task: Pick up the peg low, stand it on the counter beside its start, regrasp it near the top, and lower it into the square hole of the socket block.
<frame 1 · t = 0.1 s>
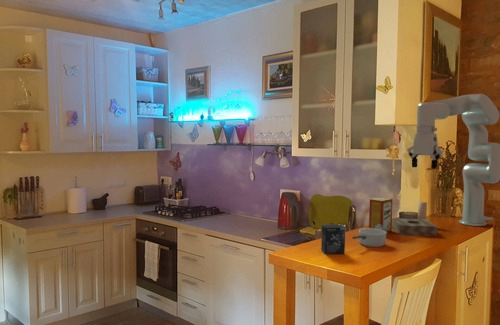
hand: (424, 167, 190), 31 cm above the breakfast bar, tool pointing down, fingers open, 9 cm apart
socket block: (413, 231, 199), on the breakfast bar
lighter: (382, 237, 189), on the breakfast bar
saucepan: (366, 246, 173), on the breakfast bar
peg: (421, 225, 213), on the breakfast bar
box: (332, 252, 164), on the breakfast bar
baking soda box: (380, 232, 199), on the breakfast bar
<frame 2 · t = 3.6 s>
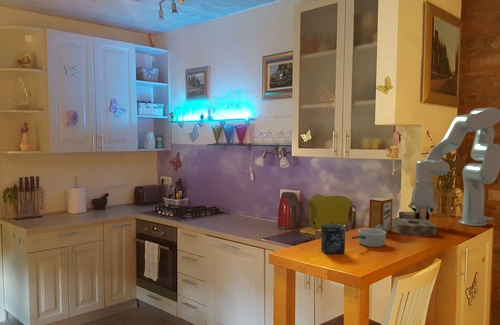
hand: (421, 220, 212), 3 cm above the breakfast bar, tool pointing down, fingers closed on peg, 4 cm apart
peg: (421, 225, 213), on the breakfast bar, touching gripper
everything else where it was.
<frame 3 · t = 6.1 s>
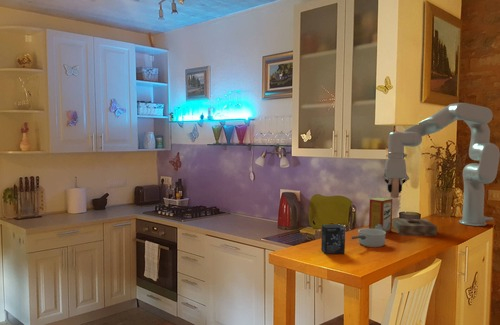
hand: (394, 191, 213), 17 cm above the breakfast bar, tool pointing down, fingers closed on peg, 4 cm apart
peg: (394, 197, 213), point 14 cm above the breakfast bar, touching gripper
everything else where it was.
when the fingers open (3 cm above the breakfast bar, at t = 8.8 s): peg stays where it is, on the breakfast bar.
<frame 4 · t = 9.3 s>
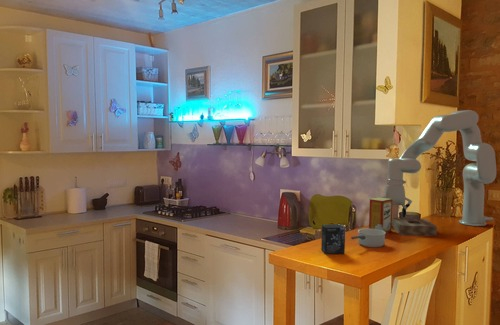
hand: (393, 216, 214), 4 cm above the breakfast bar, tool pointing down, fingers open, 9 cm apart
peg: (393, 224, 214), on the breakfast bar
everything else where it was.
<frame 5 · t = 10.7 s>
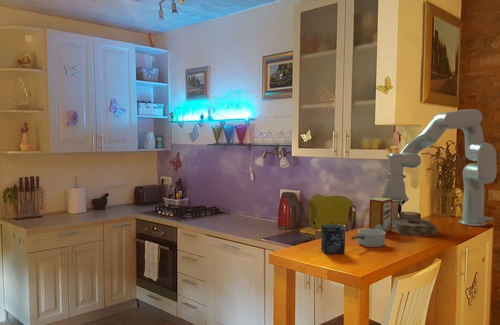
hand: (394, 212, 213), 6 cm above the breakfast bar, tool pointing down, fingers closed on peg, 4 cm apart
peg: (393, 224, 214), on the breakfast bar, touching gripper
everything else where it was.
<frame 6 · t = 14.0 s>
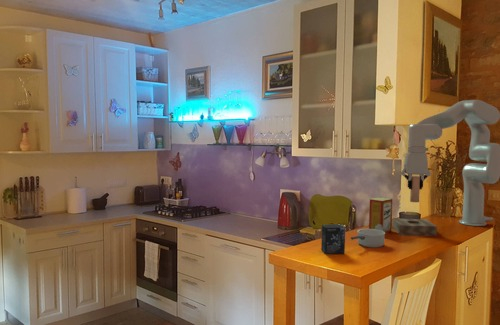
hand: (415, 188, 198), 21 cm above the breakfast bar, tool pointing down, fingers closed on peg, 4 cm apart
peg: (414, 201, 198), point 14 cm above the breakfast bar, touching gripper
when the fingers open (7 cm above the breakfast bar, at t = 17.3 s): peg stays where it is, resting in socket block.
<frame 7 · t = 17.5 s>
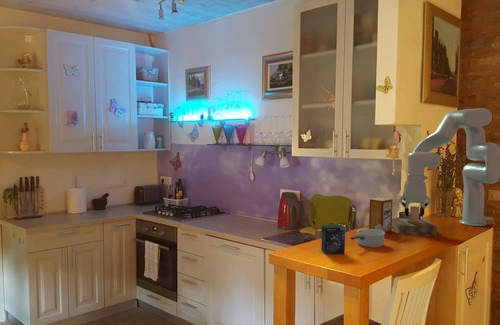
hand: (414, 215, 199), 8 cm above the breakfast bar, tool pointing down, fingers open, 6 cm apart
peg: (413, 231, 199), resting in socket block
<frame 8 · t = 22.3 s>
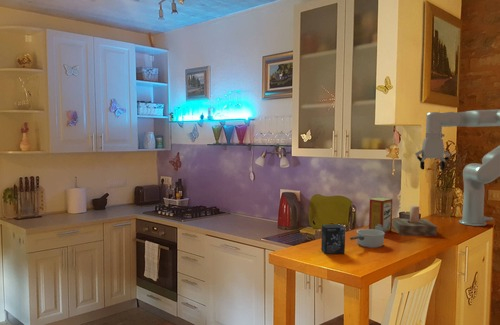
hand: (432, 169, 216), 28 cm above the breakfast bar, tool pointing down, fingers open, 9 cm apart
at the end: peg 0.1 cm off-centre on the socket block, point 0.0 cm above the socket block's base; peg tilted 0°; the gripper is holding nothing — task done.
